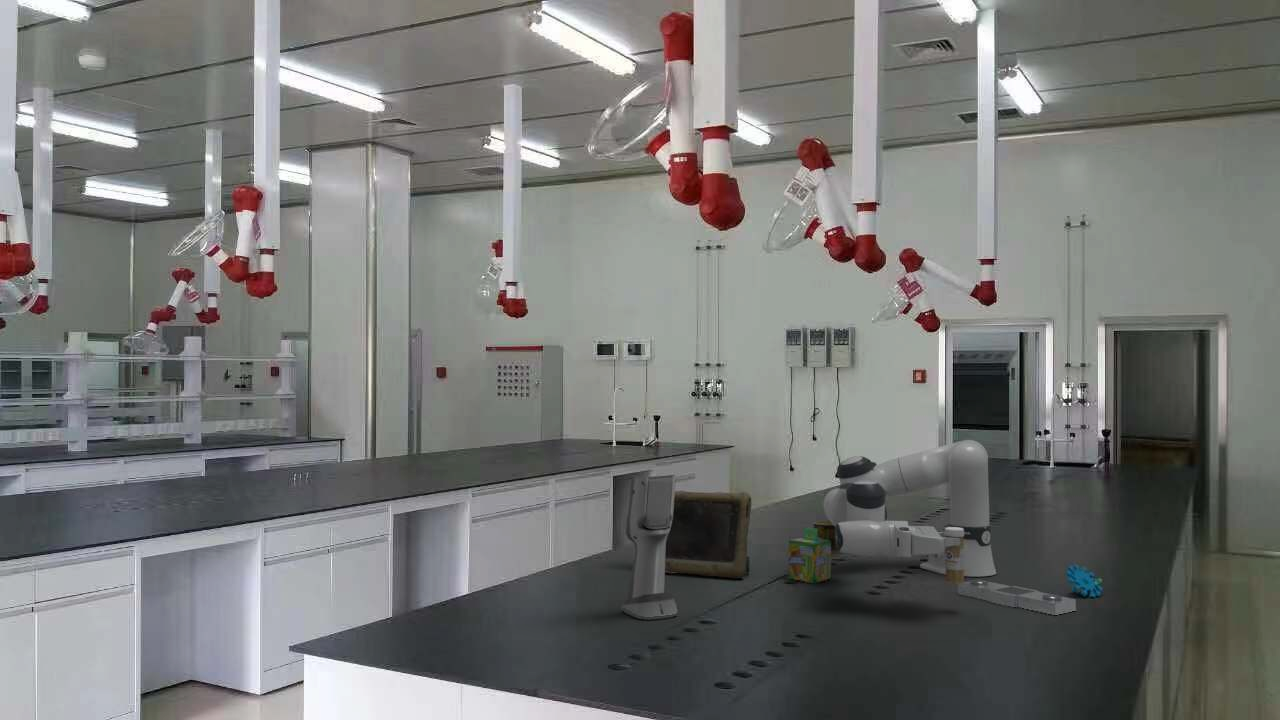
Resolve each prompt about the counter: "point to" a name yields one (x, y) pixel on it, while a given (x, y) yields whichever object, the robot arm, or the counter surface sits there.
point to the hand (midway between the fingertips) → (958, 539)
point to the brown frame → (709, 534)
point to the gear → (1084, 581)
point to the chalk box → (810, 558)
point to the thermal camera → (650, 544)
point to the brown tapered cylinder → (826, 532)
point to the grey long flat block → (1017, 597)
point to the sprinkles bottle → (954, 557)
